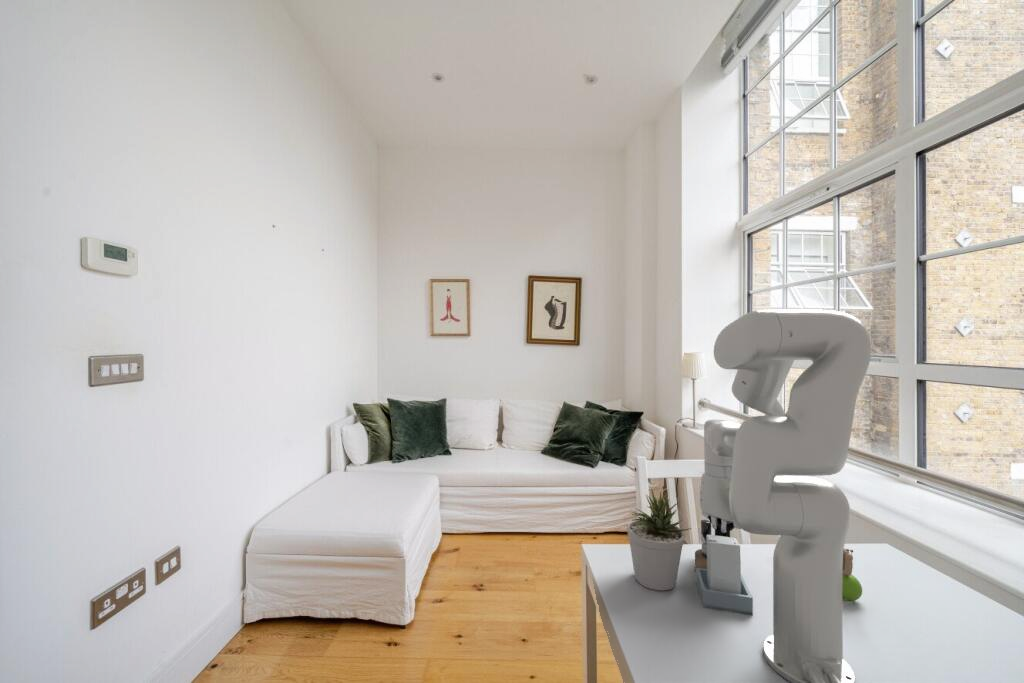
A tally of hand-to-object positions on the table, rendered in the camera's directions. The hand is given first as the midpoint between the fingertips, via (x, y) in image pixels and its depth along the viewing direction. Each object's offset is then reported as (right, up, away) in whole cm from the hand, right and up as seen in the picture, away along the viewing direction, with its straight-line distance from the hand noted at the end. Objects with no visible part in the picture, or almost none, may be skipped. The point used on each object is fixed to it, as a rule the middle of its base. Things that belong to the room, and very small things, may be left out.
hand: (722, 546), depth 102 cm
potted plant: (-18, -5, -6) cm, 20 cm away
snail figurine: (+20, -5, -13) cm, 24 cm away
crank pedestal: (-4, -5, -3) cm, 7 cm away
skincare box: (-7, -4, -13) cm, 15 cm away
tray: (-7, -5, -13) cm, 15 cm away
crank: (-3, -1, 0) cm, 3 cm away
